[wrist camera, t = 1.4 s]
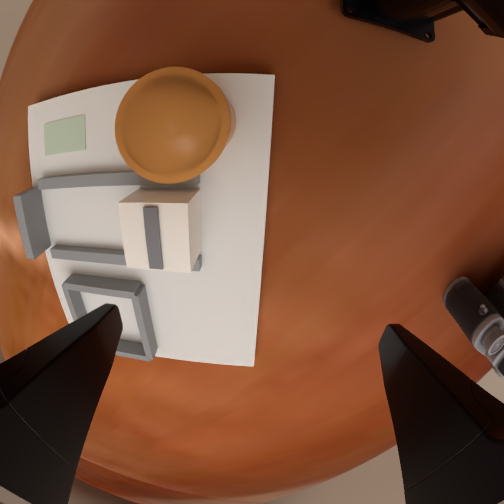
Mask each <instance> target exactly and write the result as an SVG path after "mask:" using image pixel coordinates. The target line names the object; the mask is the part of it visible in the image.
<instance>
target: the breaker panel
mask: <svg viewBox="0 0 504 504" xmlns="http://www.w3.org/2000/svg"><path fill="white" fill-rule="evenodd" d="M204 75H206V76H207V77H208V78H210V79H211V80H212V81H213V82H215V83H216V84H217V86H218V87H219V88H220V89H221V90H222V92H223V93H224V95H225V97H226V99H227V100H228V101H229V102H230V104H231V105H232V107H233V109H234V111H235V115H236V128H235V132H234V135H233V137H232V139H231V140H230V142H229V143H228V144H227V145H226V147H225V148H224V150H223V152H222V154H221V155H220V156H219V158H218V159H217V160H216V161H215V162H214V163H213V164H212V165H211V166H210V167H209V168H208V169H207V170H205V171H204V172H203V173H201V174H200V175H198V176H196V177H194V178H192V179H190V180H187V181H184V182H179V183H171V184H166V183H158V182H153V181H151V180H148V179H146V178H144V177H142V176H140V175H139V174H137V173H136V172H135V171H133V170H132V169H131V168H130V167H129V166H128V164H127V163H126V162H125V161H124V159H123V158H122V156H121V154H120V152H119V149H118V146H117V143H116V138H115V119H116V114H117V110H118V107H119V105H120V103H121V100H122V99H123V97H124V95H125V94H126V92H127V91H128V90H129V88H130V87H131V86H132V85H133V84H134V83H135V82H136V81H138V80H139V79H138V80H131V81H125V82H119V83H113V84H108V85H103V86H98V87H94V88H89V89H85V90H81V91H77V92H73V93H69V94H66V95H62V96H59V97H55V98H52V99H49V100H46V101H42V102H39V103H36V104H34V105H31V106H28V138H29V155H30V167H31V177H32V185H33V187H32V188H29V189H27V190H25V191H23V192H21V193H19V194H17V195H15V196H13V199H14V205H15V210H16V215H17V220H18V225H19V229H20V234H21V238H22V242H23V246H24V250H25V253H26V257H27V258H29V259H35V258H37V257H38V256H39V255H40V254H42V253H43V252H44V251H45V252H46V256H47V260H48V263H49V267H50V270H51V274H52V277H53V280H54V284H55V287H56V290H57V293H58V296H59V299H60V302H61V304H62V307H63V310H64V313H65V315H66V318H67V320H68V323H69V324H70V323H71V322H73V321H75V320H77V319H78V318H80V317H82V316H84V315H86V314H87V313H89V312H91V311H93V310H94V309H96V308H98V307H100V306H102V305H103V304H105V303H110V304H115V305H117V306H118V308H119V311H120V315H121V319H122V323H123V330H122V334H121V337H120V340H119V344H118V347H117V351H116V354H115V355H118V356H123V357H128V358H133V359H138V360H144V361H150V362H151V360H153V359H154V357H155V356H158V357H165V358H172V359H179V360H187V361H195V362H204V363H214V364H225V365H238V366H253V367H254V358H255V347H256V335H257V323H258V311H259V298H260V286H261V273H262V260H263V247H264V234H265V220H266V206H267V192H268V177H269V162H270V147H271V131H272V115H273V99H274V81H275V75H267V74H244V73H209V74H204ZM138 189H200V223H201V251H200V253H199V256H198V258H197V260H196V263H195V265H194V267H193V269H192V272H191V273H183V272H170V271H158V270H146V269H135V268H127V266H126V260H125V254H124V247H123V241H122V233H121V226H120V218H119V209H118V202H119V201H121V200H122V199H124V198H125V197H127V196H128V195H130V194H132V193H133V192H135V191H136V190H138Z"/></svg>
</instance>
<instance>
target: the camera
mask: <svg viewBox="0 0 504 504" xmlns="http://www.w3.org/2000/svg"><path fill="white" fill-rule="evenodd" d="M443 302H444V304H445V306H446V308H447V310H448V311H449V312H450V314H451V315H452V316H453V318H454V319H455V320H456V322H457V323H458V325H459V326H460V327H461V329H462V330H463V332H464V333H465V335H466V336H467V338H468V339H469V340H470V342H471V343H472V344H473V346H474V347H475V348H476V349H477V350H478V351H479V352H481V353H482V354H483V355H485V356H486V357H487V358H488V359H489V361H490V364H491V366H492V368H493V369H494V371H495V372H496V374H497V375H498V376H499V377H500V378H504V274H503V277H502V278H501V279H500V280H499V282H498V284H496V285H494V286H493V287H492V289H491V290H490V291H489V292H488V294H487V295H486V296H484V295H483V294H482V293H481V292H480V291H479V290H478V289H477V288H476V286H475V285H474V284H473V283H472V282H471V281H470V280H469V279H468V278H467V277H463V276H462V277H459V278H457V279H455V280H454V281H453V282H451V284H450V285H449V286H448V287H447V289H446V291H445V293H444V297H443Z"/></svg>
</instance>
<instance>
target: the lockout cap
mask: <svg viewBox="0 0 504 504" xmlns="http://www.w3.org/2000/svg"><path fill="white" fill-rule="evenodd" d="M235 128H236V115H235V111H234V109H233V107H232V105H231V104H230V102H229V101H228V100H227V99H226V97H225V95H224V93H223V92H222V90H221V89H220V88H219V87H218V86H217V84H216V83H215V82H213V81H212V80H211V79H210V78H208V77H207V76H206V75H204V74H202V73H201V72H198V71H196V70H193V69H190V68H186V67H166V68H161V69H158V70H155V71H153V72H150V73H148V74H146V75H145V76H143V77H142V78H140V79H139V80H138V81H136V82H135V83H134V84H133V85H132V86H131V87H130V88H129V90H128V91H127V92H126V94H125V95H124V97H123V99H122V100H121V103H120V105H119V107H118V110H117V114H116V119H115V138H116V143H117V146H118V149H119V152H120V154H121V156H122V158H123V159H124V161H125V162H126V163H127V164H128V166H129V167H130V168H131V169H132V170H133V171H135V172H136V173H137V174H139V175H140V176H142V177H144V178H146V179H148V180H151V181H153V182H158V183H166V184H171V183H179V182H184V181H187V180H190V179H192V178H194V177H196V176H198V175H200V174H201V173H203V172H204V171H205V170H207V169H208V168H209V167H210V166H211V165H212V164H213V163H214V162H215V161H216V160H217V159H218V158H219V156H220V155H221V154H222V152H223V150H224V148H225V147H226V145H227V144H228V143H229V142H230V140H231V139H232V137H233V135H234V132H235Z"/></svg>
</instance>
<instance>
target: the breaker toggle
mask: <svg viewBox="0 0 504 504" xmlns="http://www.w3.org/2000/svg"><path fill="white" fill-rule="evenodd" d="M118 209H119V218H120V226H121V233H122V241H123V247H124V254H125V260H126V266H127V268H135V269H146V270H158V271H170V272H183V273H191V272H192V269H193V267H194V265H195V263H196V260H197V258H198V256H199V253H200V251H201V223H200V189H138V190H136V191H135V192H133V193H132V194H130V195H128V196H127V197H125V198H124V199H122V200H121V201H119V202H118Z"/></svg>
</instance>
